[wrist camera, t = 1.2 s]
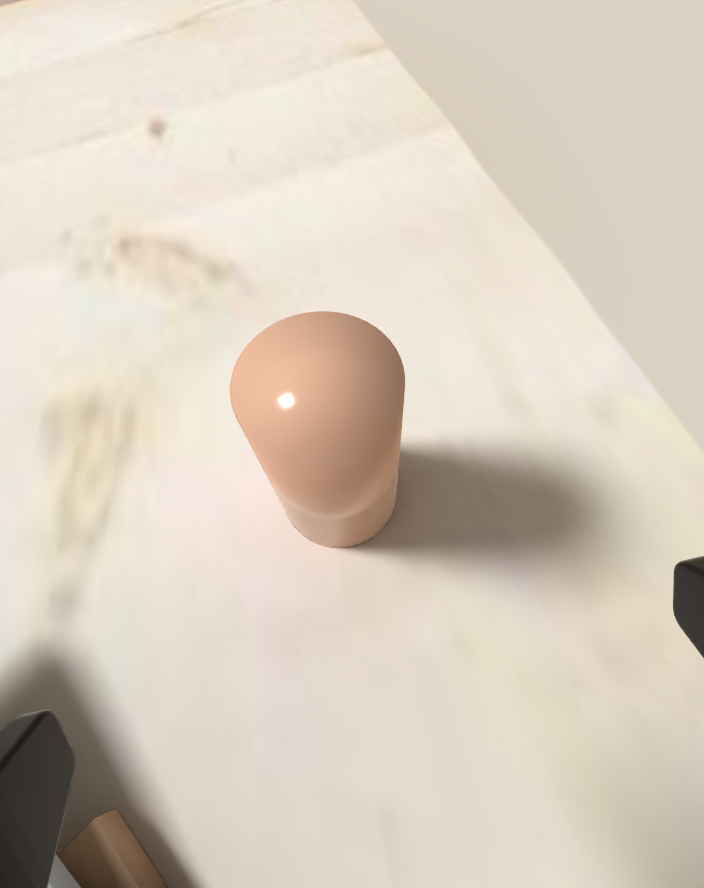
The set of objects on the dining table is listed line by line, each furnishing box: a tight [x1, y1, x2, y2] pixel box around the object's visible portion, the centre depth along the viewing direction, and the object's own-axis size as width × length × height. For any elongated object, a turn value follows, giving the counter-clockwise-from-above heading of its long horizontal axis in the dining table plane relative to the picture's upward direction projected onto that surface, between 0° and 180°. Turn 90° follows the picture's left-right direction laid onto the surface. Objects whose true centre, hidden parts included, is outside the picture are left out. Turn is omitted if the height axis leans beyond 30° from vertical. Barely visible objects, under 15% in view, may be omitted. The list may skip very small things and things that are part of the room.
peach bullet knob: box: [230, 312, 405, 548], centre depth 19 cm, size 5×5×9 cm
